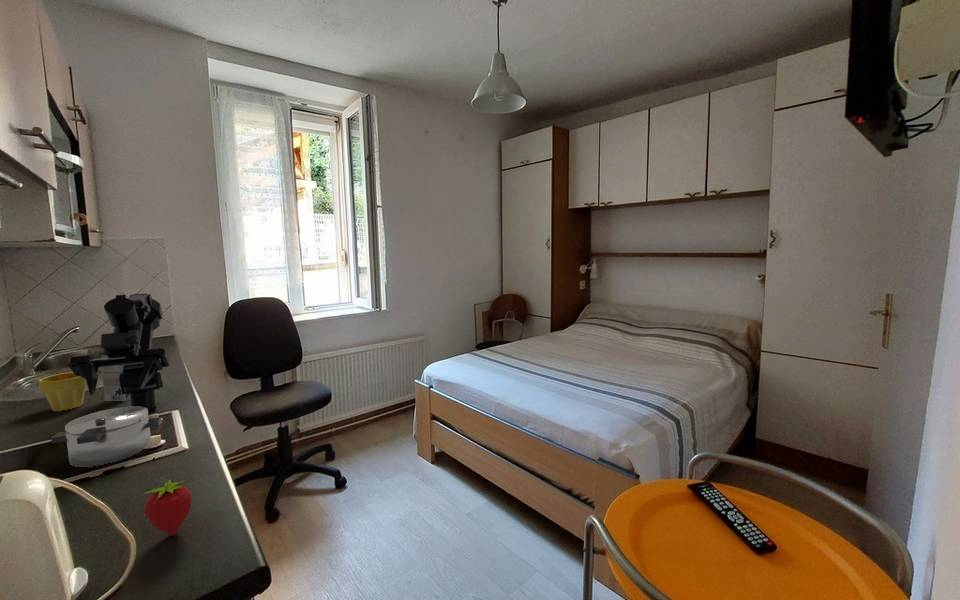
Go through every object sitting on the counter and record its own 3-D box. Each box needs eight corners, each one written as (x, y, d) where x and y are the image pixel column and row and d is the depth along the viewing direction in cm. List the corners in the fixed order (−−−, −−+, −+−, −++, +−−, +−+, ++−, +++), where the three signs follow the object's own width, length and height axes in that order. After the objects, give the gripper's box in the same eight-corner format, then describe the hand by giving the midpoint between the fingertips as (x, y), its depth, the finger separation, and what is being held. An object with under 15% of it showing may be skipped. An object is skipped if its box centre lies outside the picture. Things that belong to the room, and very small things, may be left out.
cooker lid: (81, 417, 96) (80, 408, 96) (155, 406, 102) (154, 398, 102) (39, 450, 79) (38, 439, 79) (131, 435, 85) (130, 425, 85)
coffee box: (125, 393, 136) (120, 346, 135) (146, 392, 137) (141, 345, 135) (104, 402, 127) (98, 352, 126) (126, 401, 128) (120, 351, 126)
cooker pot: (72, 448, 96) (68, 420, 95) (169, 432, 104) (166, 406, 103) (41, 476, 83) (37, 444, 83) (154, 455, 92) (151, 425, 91)
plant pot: (60, 415, 118) (56, 382, 117) (33, 412, 120) (28, 380, 119) (100, 402, 128) (96, 372, 127) (74, 400, 130) (70, 370, 129)
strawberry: (150, 557, 60) (143, 493, 59) (146, 532, 66) (140, 473, 65) (198, 538, 64) (192, 478, 63) (191, 516, 70) (185, 460, 69)
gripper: (66, 323, 97) (49, 380, 88) (162, 316, 105) (156, 368, 97) (83, 349, 105) (69, 403, 96) (172, 341, 113) (167, 391, 105)
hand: (116, 391), depth 98 cm, fingers open, 9 cm apart
